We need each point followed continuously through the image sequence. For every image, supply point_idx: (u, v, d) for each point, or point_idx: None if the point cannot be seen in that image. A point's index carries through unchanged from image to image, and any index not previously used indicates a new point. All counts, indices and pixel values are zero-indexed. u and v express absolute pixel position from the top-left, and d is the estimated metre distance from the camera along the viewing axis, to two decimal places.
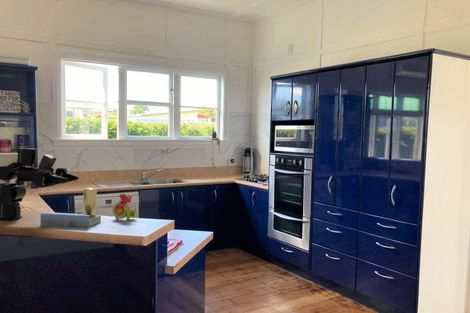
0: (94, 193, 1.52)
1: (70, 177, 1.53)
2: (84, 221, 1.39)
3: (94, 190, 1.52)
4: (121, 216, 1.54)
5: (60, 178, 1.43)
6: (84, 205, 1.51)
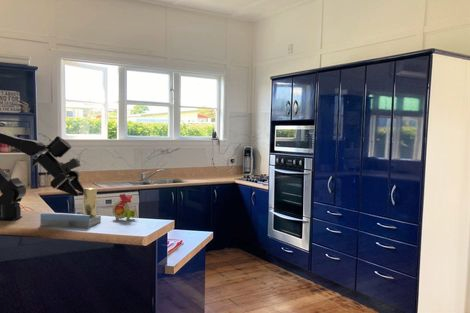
0: (94, 193, 1.52)
1: (78, 186, 1.57)
2: (84, 221, 1.39)
3: (94, 190, 1.52)
4: (121, 216, 1.54)
5: (73, 190, 1.47)
6: (84, 205, 1.51)
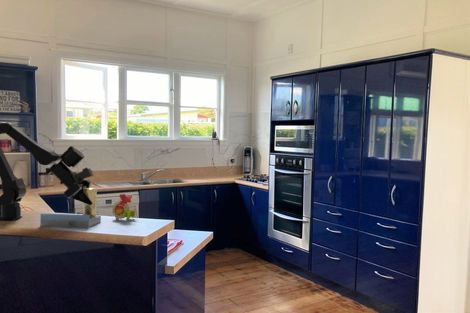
0: (94, 193, 1.52)
1: None
2: (84, 221, 1.39)
3: (94, 190, 1.52)
4: (121, 216, 1.54)
5: (87, 199, 1.50)
6: (84, 205, 1.51)
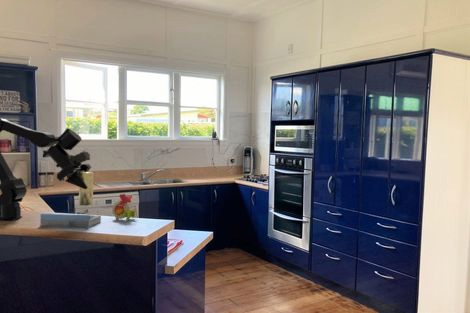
0: (90, 177, 1.47)
1: None
2: (84, 221, 1.39)
3: (90, 174, 1.47)
4: (121, 216, 1.54)
5: (82, 183, 1.45)
6: (80, 189, 1.47)
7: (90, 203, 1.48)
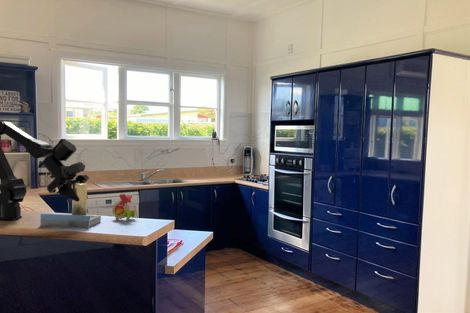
0: (82, 189, 1.43)
1: None
2: (84, 221, 1.39)
3: (82, 186, 1.42)
4: (121, 216, 1.54)
5: (74, 195, 1.41)
6: (72, 201, 1.43)
7: None
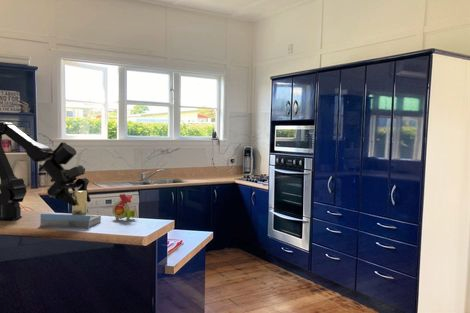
0: (82, 196, 1.43)
1: None
2: (84, 221, 1.39)
3: (82, 193, 1.43)
4: (121, 216, 1.54)
5: (71, 199, 1.39)
6: (72, 209, 1.43)
7: None
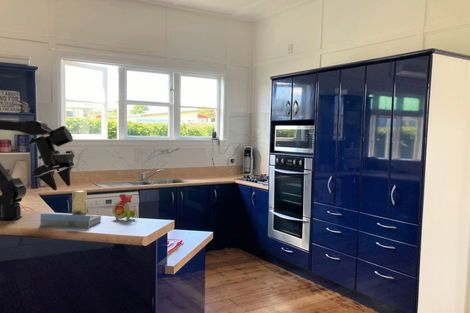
0: (82, 196, 1.43)
1: (66, 177, 1.55)
2: (84, 221, 1.39)
3: (82, 193, 1.43)
4: (121, 216, 1.54)
5: (53, 184, 1.45)
6: (72, 209, 1.43)
7: None
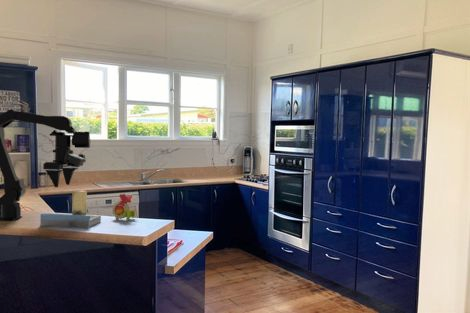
0: (82, 196, 1.43)
1: (68, 176, 1.59)
2: (84, 221, 1.39)
3: (82, 193, 1.43)
4: (121, 216, 1.54)
5: (56, 181, 1.49)
6: (72, 209, 1.43)
7: None
